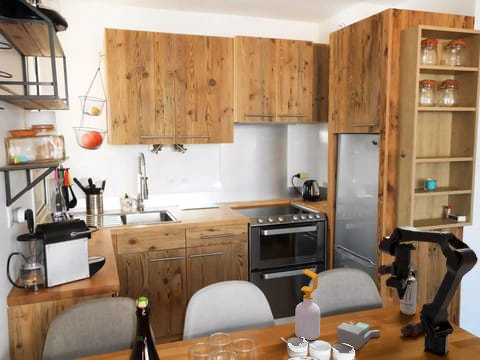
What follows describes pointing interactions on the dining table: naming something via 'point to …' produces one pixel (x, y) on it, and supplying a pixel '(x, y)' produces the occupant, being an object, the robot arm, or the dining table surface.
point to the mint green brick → (364, 326)
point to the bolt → (412, 329)
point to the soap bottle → (308, 312)
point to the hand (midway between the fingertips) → (401, 299)
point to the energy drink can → (410, 299)
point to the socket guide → (354, 335)
